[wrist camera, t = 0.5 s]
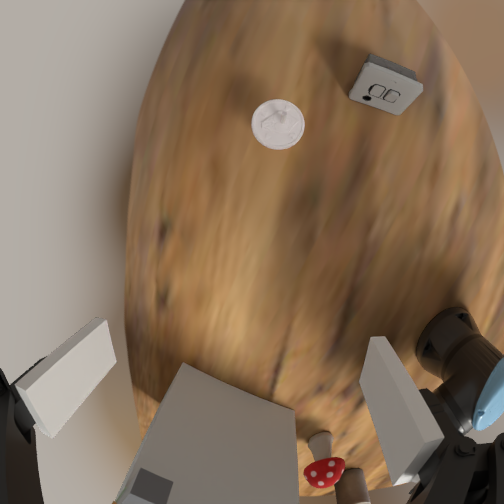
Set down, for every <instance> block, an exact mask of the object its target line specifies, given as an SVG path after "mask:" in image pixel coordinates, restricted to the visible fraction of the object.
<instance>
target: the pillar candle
mask: <svg viewBox="0 0 504 504" xmlns="http://www.w3.org/2000/svg"><path fill="white" fill-rule="evenodd" d="M334 486H335V492H336V499H337V504H370V498H369V494H368V490H367V485H366V481H365V477H364V473H363V470H362V469H350V470H346V471H343V473H342V475H341V477H340V479H339V480H338V481H337V482H336V483H335V484H334Z"/></svg>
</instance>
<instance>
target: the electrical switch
mask: <svg viewBox="0 0 504 504" xmlns="http://www.w3.org/2000/svg"><path fill="white" fill-rule="evenodd" d="M388 67H389V68H388ZM422 91H423V85H422V84H421V83H419V82H417V79H416V74H415V72H414V71H412V70H410V69H407V68H405V67H403V66H401V65H398V64H396V63H393V62H391V61H388V60H386V59H383V58H381V57H378V56H375V55H372V54H370V58H369V55H368V57H367V59H366V61H365V63H364V64H363V66H362V68H361V70H360V72H359V74H358V76H357V78H356V80H355V84H354V86H353V88H352V89H351V90H350V91H349V98H350V99H351V100H354V101H357V102H360V103H364V104H367V105H370V106H372V107H375V108H378V109H381V110H384V111H386V112H389V113H392V114H394V115H400V114H401V113H402V112H403V111H404V110H405V109H406V108H407V107H408V106H409V105H410V104H411V103H412V102H413V101H414V100H415V99H416V98H417V97H418V96H419V95H420V93H421V92H422Z"/></svg>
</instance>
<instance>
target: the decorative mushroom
mask: <svg viewBox="0 0 504 504" xmlns="http://www.w3.org/2000/svg"><path fill="white" fill-rule="evenodd" d="M333 439H334V438H333V436H332V435H331V433H329V432H321V433H318V434H316V435H314V436H313V437H311V438H310V440H309V444H308V447H309V449H310V450H311V451H312V454H313V457H314V460H315V462H313V463H311V464H310V465H308V466H307V467H306V468H305V469H304V476H305V478H306V480H307V481H308V482H309V483H310V485H312V486H313V487H316V488H327V487H330V486H332V485H333V484H335V483H336V482H337V481H338V480H339V479H340V477H341V475H342V473H343V471H344V469H345V462H344V460H343V459H342V458H338V457H331V450H332V442H333Z"/></svg>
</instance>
